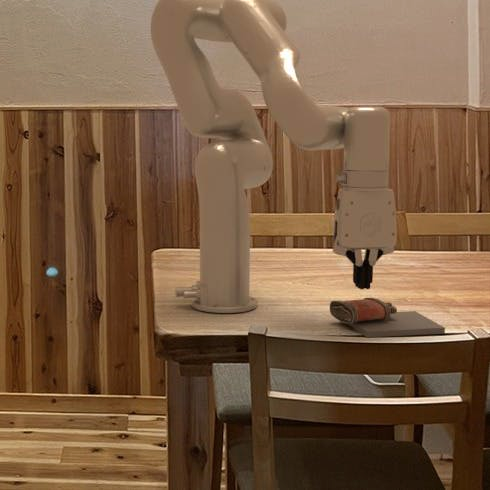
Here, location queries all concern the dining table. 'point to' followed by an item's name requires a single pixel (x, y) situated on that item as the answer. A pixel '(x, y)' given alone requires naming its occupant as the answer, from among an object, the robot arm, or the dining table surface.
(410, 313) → the mat
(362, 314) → the lighter
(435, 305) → the dining table surface
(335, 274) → the dining table surface
